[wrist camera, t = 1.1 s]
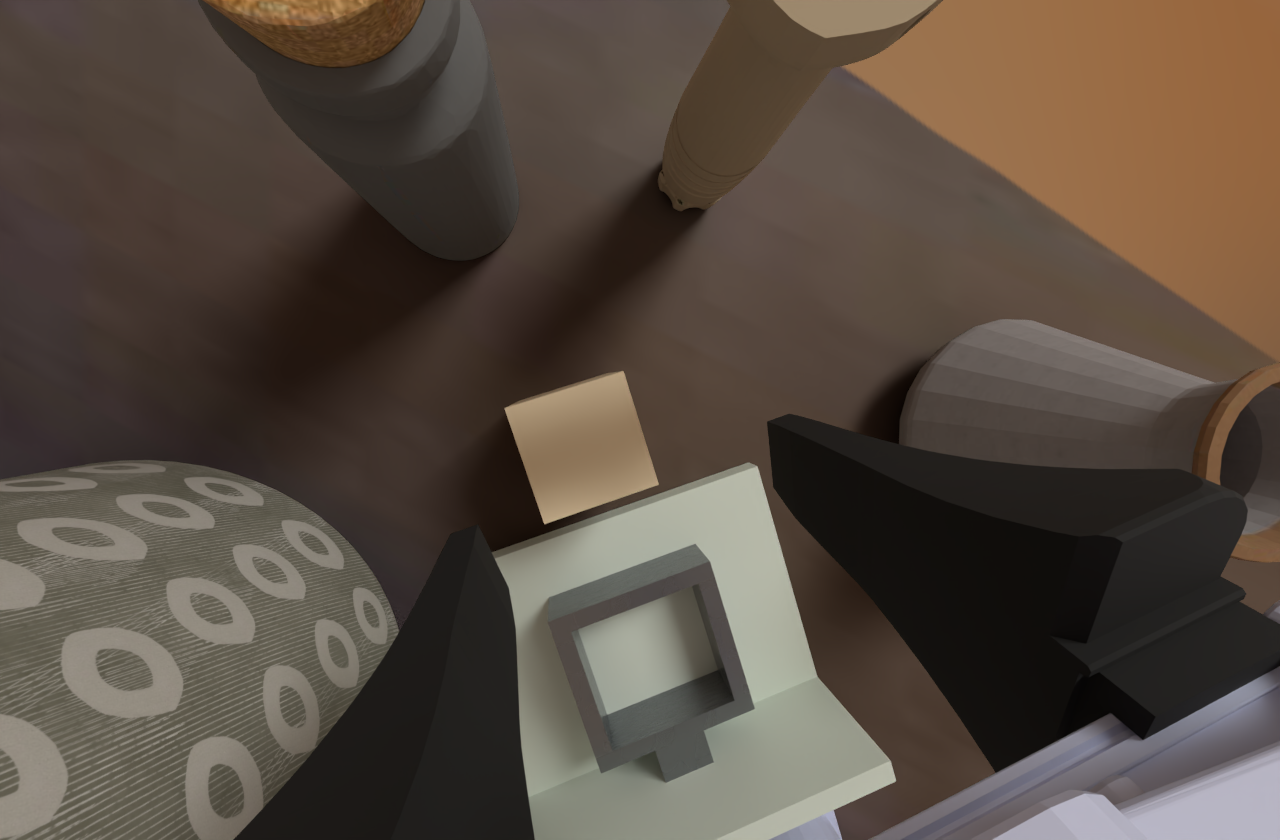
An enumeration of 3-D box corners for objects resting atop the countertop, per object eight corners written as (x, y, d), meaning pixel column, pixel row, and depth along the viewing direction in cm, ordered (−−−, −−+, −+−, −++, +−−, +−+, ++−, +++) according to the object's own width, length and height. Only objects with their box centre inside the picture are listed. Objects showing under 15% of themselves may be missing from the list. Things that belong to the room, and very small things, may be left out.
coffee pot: (831, 448, 27) (1155, 529, 12) (953, 282, 28) (1409, 167, 13) (1079, 651, 31) (1557, 901, 16) (1183, 502, 31) (1745, 611, 16)
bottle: (495, 281, 24) (388, 117, 9) (369, 231, 23) (15, -48, 8) (538, 165, 24) (500, -196, 9) (413, 109, 23) (137, -404, 8)
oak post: (631, 456, 25) (658, 484, 19) (548, 484, 25) (544, 524, 18) (605, 373, 25) (623, 370, 18) (520, 400, 24) (504, 408, 17)
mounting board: (810, 679, 28) (895, 781, 21) (534, 795, 26) (524, 951, 19) (748, 462, 26) (817, 492, 19) (448, 567, 24) (403, 643, 17)
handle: (607, 180, 24) (683, -136, 9) (707, 101, 25) (929, -319, 10) (669, 261, 25) (828, 87, 10) (764, 183, 25) (1050, -92, 11)
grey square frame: (745, 706, 26) (764, 740, 24) (607, 764, 25) (612, 805, 23) (695, 543, 25) (709, 561, 23) (548, 597, 24) (547, 622, 22)
